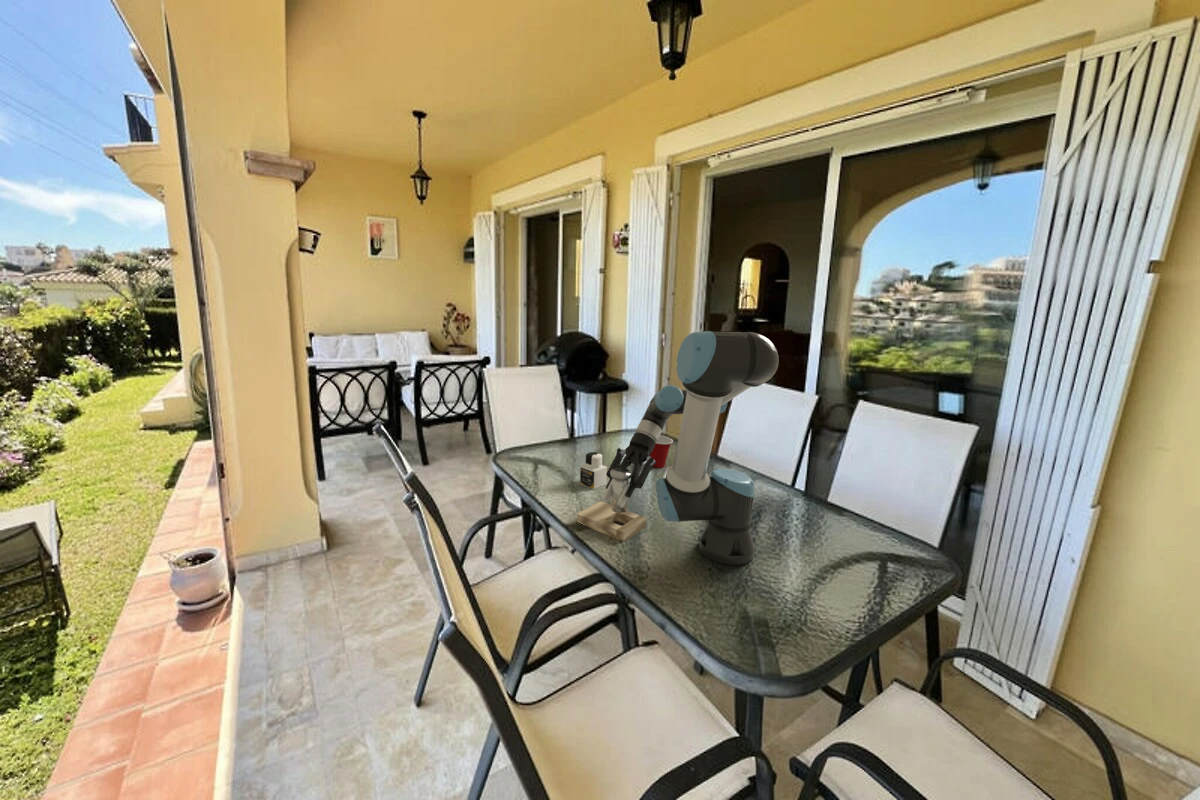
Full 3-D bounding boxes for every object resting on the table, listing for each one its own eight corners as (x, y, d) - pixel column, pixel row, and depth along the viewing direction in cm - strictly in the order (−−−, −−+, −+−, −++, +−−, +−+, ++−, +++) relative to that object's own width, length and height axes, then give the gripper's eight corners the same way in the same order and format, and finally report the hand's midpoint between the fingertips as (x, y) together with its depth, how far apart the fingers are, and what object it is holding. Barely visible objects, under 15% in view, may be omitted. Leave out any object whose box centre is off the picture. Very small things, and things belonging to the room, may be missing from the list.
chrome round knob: (633, 508, 153) (635, 471, 150) (621, 516, 148) (623, 477, 145) (617, 502, 157) (618, 466, 154) (604, 509, 152) (605, 472, 149)
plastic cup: (673, 471, 201) (674, 442, 198) (646, 470, 201) (647, 441, 198) (669, 461, 211) (671, 434, 208) (644, 460, 211) (645, 433, 208)
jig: (646, 526, 154) (646, 517, 153) (623, 541, 145) (624, 532, 144) (600, 509, 165) (600, 501, 164) (576, 522, 156) (576, 513, 155)
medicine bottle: (579, 484, 185) (580, 453, 182) (592, 479, 190) (593, 449, 187) (593, 489, 180) (594, 458, 178) (606, 484, 185) (607, 453, 183)
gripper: (673, 450, 155) (641, 517, 146) (626, 437, 165) (594, 499, 157) (666, 437, 150) (632, 506, 141) (617, 425, 160) (583, 489, 151)
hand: (612, 502), depth 149 cm, fingers closed on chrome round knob, 5 cm apart
